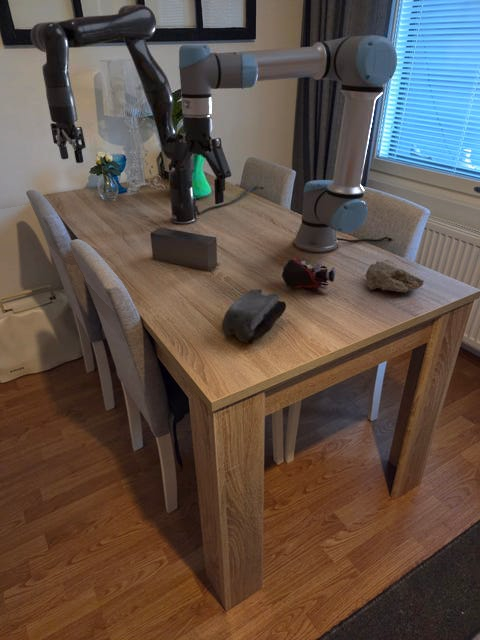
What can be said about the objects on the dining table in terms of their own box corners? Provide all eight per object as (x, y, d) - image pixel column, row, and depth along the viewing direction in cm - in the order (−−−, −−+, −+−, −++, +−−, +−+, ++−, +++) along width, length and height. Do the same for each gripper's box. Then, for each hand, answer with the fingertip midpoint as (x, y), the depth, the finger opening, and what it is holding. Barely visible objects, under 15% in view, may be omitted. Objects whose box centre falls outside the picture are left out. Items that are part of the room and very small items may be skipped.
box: (152, 259, 152) (150, 232, 147) (162, 253, 156) (160, 227, 151) (208, 271, 144) (207, 243, 139) (217, 264, 148) (216, 237, 143)
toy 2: (334, 253, 124) (283, 248, 130) (327, 283, 122) (275, 277, 127) (338, 272, 135) (291, 267, 140) (332, 300, 132) (284, 294, 138)
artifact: (384, 303, 127) (425, 296, 132) (391, 281, 123) (434, 275, 127) (349, 272, 141) (388, 267, 145) (355, 251, 136) (395, 247, 141)
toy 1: (167, 190, 223) (163, 137, 210) (207, 188, 227) (205, 135, 214) (172, 202, 206) (167, 145, 193) (214, 199, 210) (213, 143, 197)
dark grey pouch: (257, 354, 105) (257, 326, 101) (216, 341, 109) (215, 314, 105) (287, 319, 119) (289, 292, 114) (250, 308, 123) (250, 283, 119)
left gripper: (86, 104, 130) (95, 162, 138) (60, 101, 137) (70, 155, 146) (63, 106, 125) (74, 166, 133) (37, 103, 133) (49, 159, 141)
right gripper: (152, 113, 117) (160, 193, 128) (225, 121, 104) (226, 210, 115) (173, 110, 122) (178, 187, 133) (244, 118, 109) (244, 203, 120)
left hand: (72, 160), depth 140 cm, fingers open, 8 cm apart
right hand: (200, 198), depth 124 cm, fingers open, 13 cm apart
